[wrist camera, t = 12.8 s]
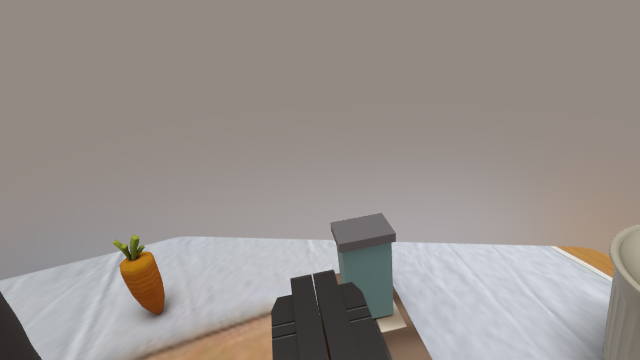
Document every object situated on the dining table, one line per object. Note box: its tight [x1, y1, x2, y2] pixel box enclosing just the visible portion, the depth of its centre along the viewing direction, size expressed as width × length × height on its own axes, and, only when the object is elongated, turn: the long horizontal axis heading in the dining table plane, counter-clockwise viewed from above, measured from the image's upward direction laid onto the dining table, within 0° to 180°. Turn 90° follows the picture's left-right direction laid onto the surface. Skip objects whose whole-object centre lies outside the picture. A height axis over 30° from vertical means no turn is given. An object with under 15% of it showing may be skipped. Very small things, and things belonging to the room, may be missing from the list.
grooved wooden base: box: [335, 273, 432, 360], centre depth 40 cm, size 28×10×3 cm, turn 9°
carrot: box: [113, 235, 165, 314], centre depth 49 cm, size 5×5×15 cm
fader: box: [331, 213, 396, 319], centre depth 41 cm, size 5×7×13 cm
